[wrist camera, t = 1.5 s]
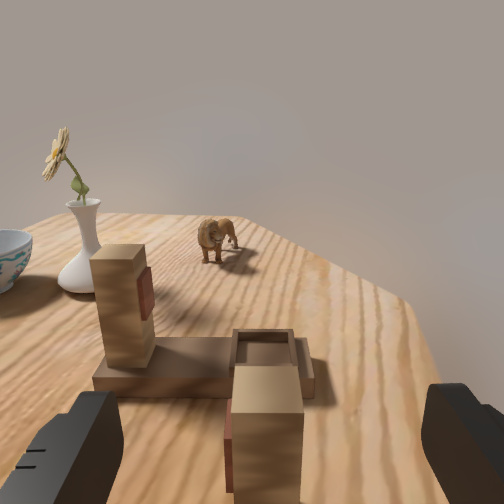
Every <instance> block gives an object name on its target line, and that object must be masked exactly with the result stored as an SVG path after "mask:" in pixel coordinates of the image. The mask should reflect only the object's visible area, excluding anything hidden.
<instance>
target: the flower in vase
mask: <svg viewBox="0 0 504 504" xmlns="http://www.w3.org/2000/svg"><path fill="white" fill-rule="evenodd" d="M68 141H69V129H67V127H65V129H63V131H62V128H60V130H59V135H58V142H57V140H56V139H54V141H53V143H52V147H53V149H52V151H51V153H52V154H51V155H49V156H48V157H47V159H46V163H49V164H48V166H47V167H46V169H45V170H44V172H43V174H42V176H45V180H44V181H47V180H48V181H49V180H50V179H51V178H52V177H53V176H54V174H55V173H56V172H57V170H58V167H59V166H60V164H61V161H63V160H66V161H67V163H68V164H69V165H70V166H71V168H72V169H73V171H74V172H75V174H76V175H77V176H75V178H74V179H73V181H72V183H71V188H72V189H73V190H75V191H76V192H78V193H79V196H78V198H77V200H74V201H70V202H68V203H66V206H67V207H68V208H69V209H70V210H71V211H72V212H73V213H74V215H75V217H76V219H77V221H78V224H79V227H80V231H81V235H82V248H81V251H80V252H79V253H78V254H77V256H76V257H74V258H73V259H72V260H71V261H70V262H69V263H68V264H67V265H66V266H65V267H64V268H63V270H62V271H61V272H60V274H59V277H58V284H59V285H60V286H61V287H62V288H63V289H65V290H67V291H70V292H75V293H93V292H94V286H93V280H92V274H91V269H90V263H89V259H90V258H91V257H92V256H93V255H94V254H95V253H96V252H97V251H98V250H99V249H101V248H102V247H101V245H100V244H99V242H98V238H97V233H96V212H97V209H98V206H99V205H100V203H101V200H99V199H85V194H87V192H88V191H89V188H88V187H87V186H86V185H85V184H84V183H83V182H82V180H81V177H80V175H79V174H78V172H77V170H76V169H75V168H74V166H73V165H72V163H71V162H70V161H69V159H68V158H67V157H66V154H65V151H66V148H67V145H68ZM81 195H83V199H80V196H81Z"/></svg>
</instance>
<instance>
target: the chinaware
mask: <svg viewBox="0 0 504 504" xmlns="http://www.w3.org/2000/svg"><path fill="white" fill-rule="evenodd" d="M31 251H32V235H31V234H30V233H28V232H26V231H22V230H12V229H2V230H0V294H1V293H3V292H5V291H7V290H9V289H10V288H11V287H12V286H13V280H15V279H16V278H17V277H18V276H19V275H20V274H21V273H22V272H23V270H24V269H25V267H26V266H27V264H28V262H29V259H30V256H31Z"/></svg>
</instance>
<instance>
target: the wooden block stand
mask: <svg viewBox="0 0 504 504" xmlns="http://www.w3.org/2000/svg"><path fill="white" fill-rule="evenodd" d="M89 263H90V269H91V274H92V280H93V286H94V292H95V298H96V303H97V309H98V315H99V321H100V327H101V332H102V338H103V344H104V350H105V357H104V358H103V360H102V362H101V363H100V365H99V367H98V368H97V370H96V371H95V373H94V375H93V376H92V380H93V385H94V390H95V391H114V393H115V395H116V397H132V398H232V394H233V383H234V372H235V366H297V367H298V374H299V380H300V387H301V394H302V398H314V382H315V377H314V372H313V367H312V362H311V357H310V352H309V347H308V343H307V338H294V333H293V329H233V335H232V337H155V332H154V323H153V314H152V310H153V308H154V306H155V301H154V292H153V283H152V274H151V267H147V262H146V253H145V245H144V244H105V245H104V246H103V247H102V248H101V249H99V250H98V251H97V252H96V253H95V254H94V255H93V256H92V257H91V258H90V259H89Z"/></svg>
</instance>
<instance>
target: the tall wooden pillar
mask: <svg viewBox="0 0 504 504" xmlns="http://www.w3.org/2000/svg"><path fill="white" fill-rule="evenodd" d="M303 429H304V408H303V401H302V394H301V387H300V380H299V374H298V367H297V366H235V372H234V383H233V394H232V399H228V402H227V412H226V422H225V431H224V456H225V478H226V493H234V504H300V486H301V467H302V448H303Z"/></svg>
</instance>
